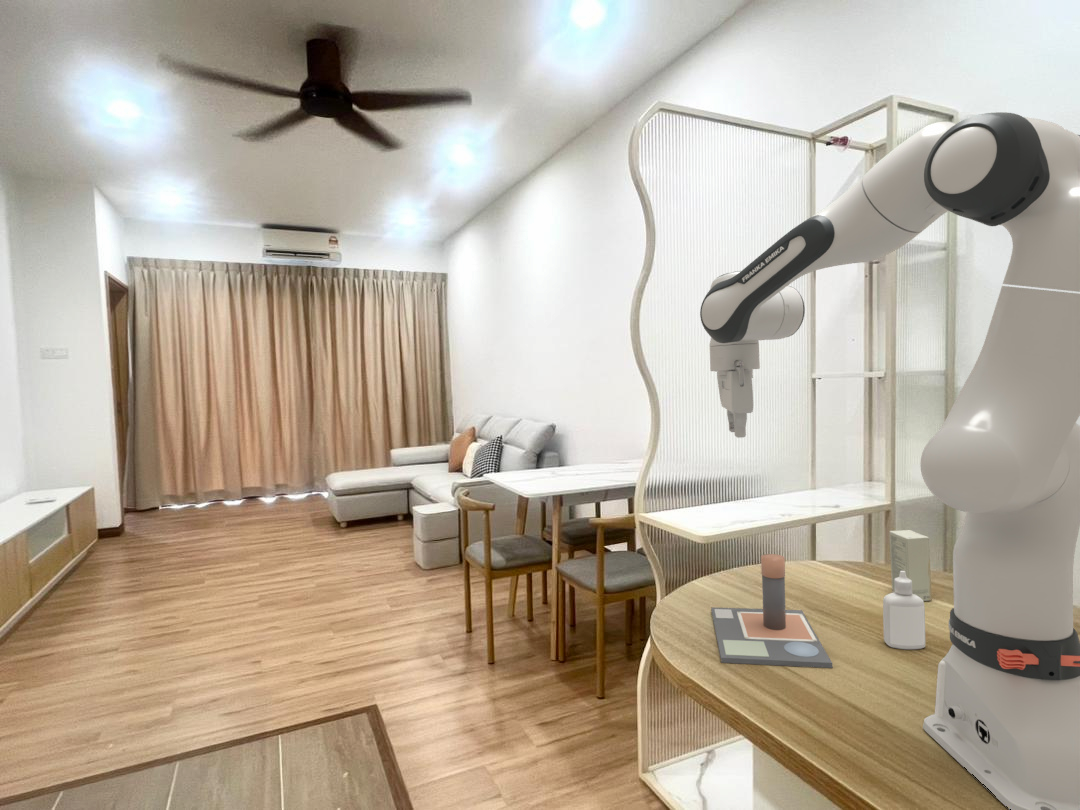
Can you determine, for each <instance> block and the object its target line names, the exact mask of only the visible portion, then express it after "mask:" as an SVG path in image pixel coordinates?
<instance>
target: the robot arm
mask: <svg viewBox="0 0 1080 810" xmlns="http://www.w3.org/2000/svg"><path fill="white" fill-rule="evenodd" d="M947 212H951V213H952V214H954V215H956V216H959V217H963V218H966V219H968V220H972V221H974V222H977V223H979V224H982V225H986V226H988V227H997V226H1002V227H1004V228H1005V229H1006V230H1007V232H1008V234H1010V237H1011V242H1012V249H1011V254H1010V255H1011V256H1010V260H1009V263H1008V266H1007V269H1006V273H1005V276H1004V279H1003V282H1002V285H1001V288H1000V291H999V295H998V297H997V301H996V304H995V307H994V310H993V314H992V317H991V320H990V323H989V326H988V329H987V333H986V335H985V339H984V341H983V342H984V343H983V345H982V347H981V350H980V352H979V354H978V358H977V360H976V361H975V364H974V365H973V368H972V370H971V372H970V374H969V375H968V377H967V379H966V380H965V382H964V384H963V386H962V388H961V390H960V391H959V393H958V395H957V397H956V399H955V401H954V403H953V404H952V406H951V409H950V410H949V412H948V415H947V417H946V418H945V420H944V421H943V423H942V424H941V425H942V426H940V428H938V429H939V430H937V432H936V433H935V434H933V436H932V437H931V439H929V440H928V442H927V443H926V445H925V447H924V449H922V453H921V457H920V472H921V476H922V479H923V482H924V484H925V485H926V487H927V489H928V490H929V491H930V493H932V495H933V496H934V497H935V498H937V500H939V501H940V502H941V503H943V504H944V505H946V506H948V507H950V508H952V509H955V510H957V511H959V512H965V516H964V520H963V525H962V528H961V531H960V533H959V536H958V537H957V539H956V541H955V543H954V547H953V552H952V568H953V569H952V575H953V577H952V578H953V581H952V583H953V607H952V608H951V610H950V612H949V619H948V629H949V640H950V642H951V643H952V645H951V647H950V648H949V651H948V652H947V654H946V655H945V656H944V657H942V659H941V660H940V662H938V666H937V676H936V678H937V679H936V688H935V689H936V692H935V705H934V706H935V707H934V713H932V714H930V715H928V716H926V717H925V718H924V720H923V725H922V728H923V730H924V731H925V732H926V733H927V734H928V735H929V736H930V737H931V738H932V739H934V740H935V742H936V743H938V744H939V745H940V746H941V747H942V748H943V749H944V750H945V751H946V752H947V753H948V754H949V755H950V756H952V758H954V759H955V760H956V762H958V763H959V764H960V765H961V766H962V767H963V768H964V767H965V768H966V769H967V770H966V769H965V768H964V769H965V770H966V771H968V773H970V774H971V775H972V774H973V775H974V776H975V777H976V778H977V779H978V780H979V781H980V782H981V783H982V784H984V785H985V786H986V787H987V788H988V789H989V790H990V791H991V792H992V793H993V794H994V795H995V796H996V797H995V796H994V795H993V794H992V793H991V792H990V791H989V790H988V789H987V788H986V787H985V786H984V785H983V786H984V787H985V788H986V789H987V790H988V791H989V792H990V793H991V794H992V795H993V796H994V797H995V798H996V799H998V800H999V801H1000V803H1002V804H1003V805H1004V806H1005V807H1006V806H1007V807H1009V808H1008V810H1010V809H1011V810H1080V637H1079V633H1078V632H1077V630H1076V629H1075V627H1074V593H1073V592H1074V563H1075V553H1076V546H1077V542H1078V536H1079V531H1080V425H1079V424H1078V423H1077V421H1078V420H1079V418H1080V134H1076V133H1075V132H1073V131H1070V130H1068V129H1065V128H1064V127H1063V126H1061V125H1059V124H1057V123H1054V122H1052V121H1048V120H1044V119H1039V118H1035V117H1026V116H1022V115H1019V114H1017V113H1013V112H997V111H995V112H986V113H982V114H976V115H972V116H970V117H967V118H965V119H963V120H961V121H958V122H957V123H955V122H951V121H937V122H936V121H935V122H933V123H930V124H928V125H926V126H924V127H922V128H921V129H920V130H918V131H916V132H915V133H913V134H912V135H911V136H908V138H906V139H905V140H904V141H902V142H900V144H897V146H896V147H894V148H893V149H892V150H891V151H890V152H888V153H887V154H886V155H885V156H883V157H882V158H881V159H880V160H879V161H878V162H876V163H875V164H874V165H873V166H872V167H871V168H870V169H868V170H867V172H866V173H864V174H863V175H862V176H861V178H859V179H858V180H857V181H856V182H855V183H854V184H853V185H852V186H851V187H850V188H848V189H847V190H846V191H845V192H843V193H842V194H841V195H840V196H839V197H837V198H836V199H835V200H833V201H832V202H831V203H829V205H826V206H825V207H824V208H823V209H821V210H820V211H818V212H817V213H815V214H814V215H812V216H810V217H808V218H807V219H806V220H803V222H801V223H799V224H798V225H797V226H794V228H792V229H791V230H789V231H788V232H787V233H786V234H783V236H782V237H780V238H778V240H777V241H775V242H774V243H773V244H772V245H771V246H770V247H768V248H767V249H766V250H765V251H764V252H762V253H761V254H760V255H759V256H757V257H756V258H755V259H754V260H753V261H751V262H750V263H749V264H748V265H746V267H744V268H743V269H742V270H737V271H732V272H726V273H724V274H722V275H719V276H718V277H716V278H715V279H713V280H712V282H711V285H710V288H709V290H708V292H707V293H706V295H705V296H704V298H703V300H702V302H701V306H700V310H699V311H700V312H699V318H700V321H701V324H702V327H703V328H704V330H705V332H706V333H707V334H708V336H709V337H710V342H709V368H710V372H716V379H717V385H718V392H719V393H718V394H719V398H720V404H721V407H723V408H724V409H725V410H726V416H727V421H728V431H729V432H730V433H734V436H735V437H736V438H737V439H738V438H740V439H742V438H745V437H746V435H747V434H746V433H747V429H746V428H747V419H748V415H747V414H751V413H753V411H754V392H753V391H754V390H753V378H754V375H753V370H760V367H761V366H760V364H761V363H760V341H766V340H767V341H770V340H771V341H774V340H781V339H785V338H789V337H791V336H793V335H794V334H796V332H798V330H799V329H800V328H801V326H802V324H803V322H804V317H805V313H806V312H805V311H806V308H805V302H804V299H803V296H802V295H801V294H800V291H798V289H796V287H794V286H790V284H791V283H793V282H795V281H797V279H800V278H802V277H803V276H805V275H808V274H810V273H812V272H816V271H818V270H822V269H823V270H824V269H826V268H832V267H839V266H843V265H851V264H860V263H866V262H867V263H868V262H873V261H876V260H879V259H882V258H884V257H886V256H887V255H890V254H891V253H893V252H896V250H899V249H900V248H902V247H903V246H905V245H906V244H908V243H909V242H911V241H912V240H914V238H916V237H917V236H918V235H919V234H922V232H924V231H925V230H926V229H927V228H929V226H930V225H932V224H933V223H934V222H936V220H938V219H939V218H940V217H942V216H943V215H945V214H946V213H947ZM1016 286H1018V287H1016ZM1027 287H1029V288H1027ZM1037 288H1038V289H1037ZM1039 288H1040V289H1039ZM1048 289H1049V290H1048ZM1066 291H1068V292H1066ZM973 775H972V776H973ZM974 776H973V777H974ZM975 777H974V778H975ZM976 778H975V779H976ZM977 779H976V780H977ZM978 780H977V781H978ZM979 781H978V782H979ZM980 782H979V783H980ZM981 783H980V784H981ZM982 784H981V785H982ZM1007 807H1006V808H1007Z"/></svg>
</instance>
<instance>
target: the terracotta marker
mask: <svg viewBox="0 0 1080 810" xmlns="http://www.w3.org/2000/svg"><path fill="white" fill-rule="evenodd" d="M760 564H761V565H760V567H761V568H760V569H761V570H760V571H761V584H762V585H761V586H762V609H763V625H764V626H765V627H766V628H768V629H771V630H783V629H785V628H786V613H785V610H786V586H785V585H786V583H785V581H786V580H785V579H786V578H785V577H786V558H785V556H783V555H781V554H776V553H766V554H762V555H761V556H760Z"/></svg>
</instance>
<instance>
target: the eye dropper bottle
mask: <svg viewBox="0 0 1080 810" xmlns="http://www.w3.org/2000/svg"><path fill="white" fill-rule="evenodd" d="M894 591H895V592H893V591H892V592H889V593H888V594H886V595H884V597H883V600H882V609H883V610H882V614H883V615H882V616H883V617H882V621H883V625H882V626H883V641H884V642H885V643H886V645H887V646H888V647H890V648H894V649H899V650H920V649H923V648H925V647H926V614H925V613H926V609H925V607H926V606H925V601H923V600H922V599H921V598H920V597H919V596H917V595H914V594H912V581H911V580H910V579H908V578H907V576H906V572H905V571H900V575H899V577H898V578H895V579H894Z"/></svg>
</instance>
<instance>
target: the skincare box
mask: <svg viewBox="0 0 1080 810" xmlns="http://www.w3.org/2000/svg"><path fill="white" fill-rule="evenodd" d="M889 550H890V551H889V552H890V553H889V554H890V568H891V569H890V573H891V574H890V575H891V590H892V593H893V592H895V591H894V579H895V578H898V577H899V575H900V571H905V572H906V576H907V578H908V579H910V580H911V581H912V594H914V595H917V596H919V597H920V598H921V599H922V600H923V601H924V602H929V601H932V600H933V598H932V597H933V596H932V595H933V594H932V577H931V576H932V574H931V553H930V537H929V536H928V535H927V536H926V535H924V534H921V533H919V532H916V531H914V530H911V529H903V530H902V529H901V530H889Z"/></svg>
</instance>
